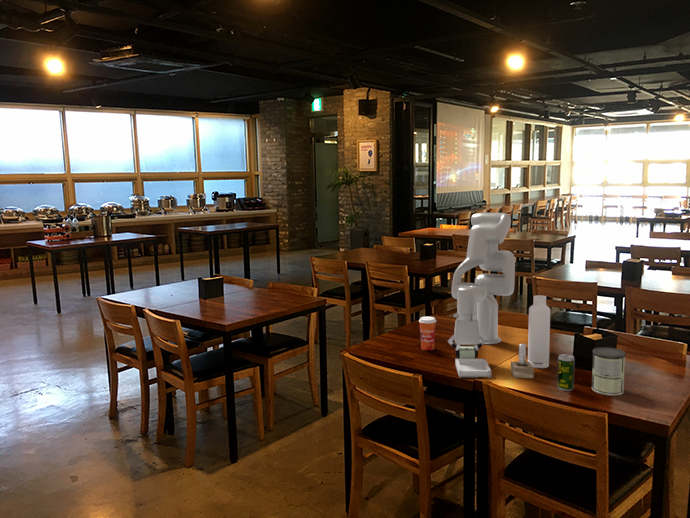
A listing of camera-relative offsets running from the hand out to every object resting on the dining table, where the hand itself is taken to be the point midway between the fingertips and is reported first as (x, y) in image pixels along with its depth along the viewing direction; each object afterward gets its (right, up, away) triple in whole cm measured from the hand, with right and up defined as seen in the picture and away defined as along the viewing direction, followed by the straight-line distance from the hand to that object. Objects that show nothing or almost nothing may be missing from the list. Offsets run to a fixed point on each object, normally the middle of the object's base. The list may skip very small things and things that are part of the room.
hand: (466, 358), depth 228 cm
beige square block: (+17, -3, -18) cm, 25 cm away
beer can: (+28, -5, -33) cm, 43 cm away
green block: (0, -1, 0) cm, 1 cm away
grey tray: (0, -3, -12) cm, 12 cm away
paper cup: (-13, +1, +18) cm, 23 cm away
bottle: (+27, -2, -7) cm, 28 cm away
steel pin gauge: (+17, -3, -18) cm, 25 cm away
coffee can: (+42, -5, -35) cm, 55 cm away
